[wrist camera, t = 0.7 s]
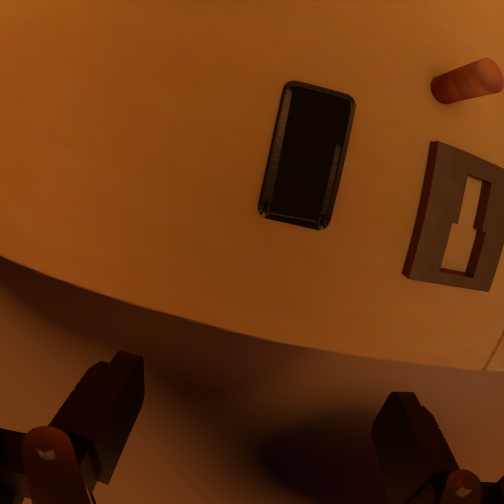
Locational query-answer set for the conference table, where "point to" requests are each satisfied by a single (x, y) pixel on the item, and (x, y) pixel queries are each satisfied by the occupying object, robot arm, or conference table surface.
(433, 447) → the robot arm
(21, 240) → the conference table surface
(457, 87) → the peg
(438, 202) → the keyhole plate
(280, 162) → the phone
